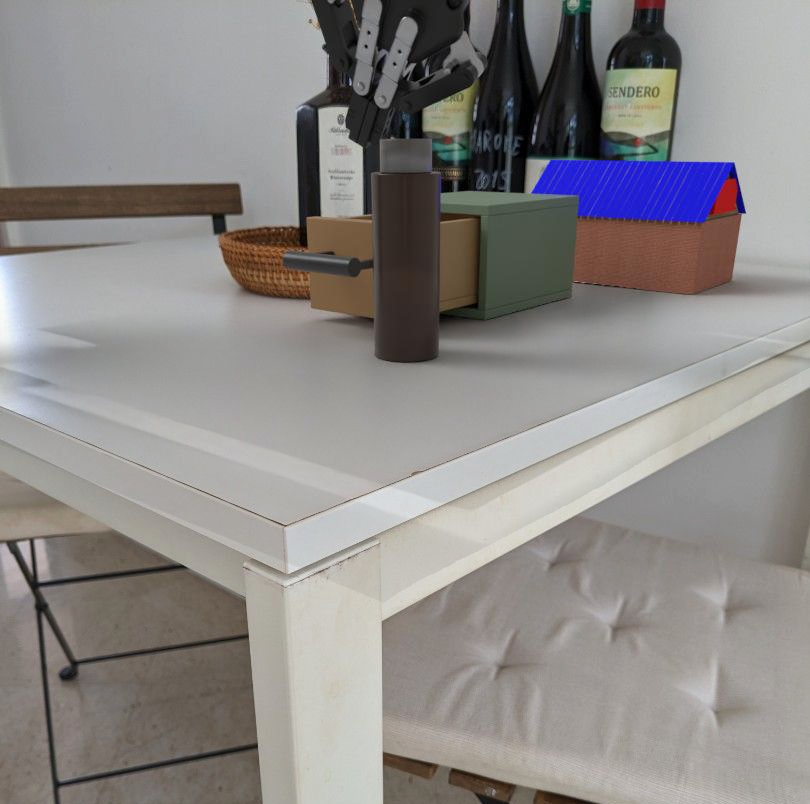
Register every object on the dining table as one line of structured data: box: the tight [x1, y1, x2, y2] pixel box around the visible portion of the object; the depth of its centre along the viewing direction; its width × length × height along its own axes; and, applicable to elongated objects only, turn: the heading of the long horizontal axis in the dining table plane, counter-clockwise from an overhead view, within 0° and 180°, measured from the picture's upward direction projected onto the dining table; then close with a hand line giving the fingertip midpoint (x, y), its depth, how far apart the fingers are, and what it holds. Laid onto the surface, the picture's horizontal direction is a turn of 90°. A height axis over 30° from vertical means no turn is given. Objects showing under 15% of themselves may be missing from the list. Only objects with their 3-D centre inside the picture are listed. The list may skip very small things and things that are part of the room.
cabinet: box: [439, 190, 579, 321], centre depth 79 cm, size 15×13×9 cm
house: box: [530, 159, 747, 295], centre depth 90 cm, size 12×20×12 cm, turn 52°
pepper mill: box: [370, 138, 442, 363], centre depth 58 cm, size 5×5×14 cm
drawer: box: [282, 213, 482, 319], centre depth 71 cm, size 18×11×7 cm, turn 140°
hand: (362, 138), depth 62 cm, fingers closed
